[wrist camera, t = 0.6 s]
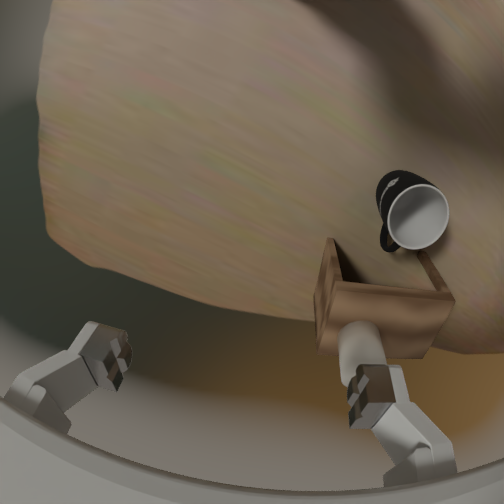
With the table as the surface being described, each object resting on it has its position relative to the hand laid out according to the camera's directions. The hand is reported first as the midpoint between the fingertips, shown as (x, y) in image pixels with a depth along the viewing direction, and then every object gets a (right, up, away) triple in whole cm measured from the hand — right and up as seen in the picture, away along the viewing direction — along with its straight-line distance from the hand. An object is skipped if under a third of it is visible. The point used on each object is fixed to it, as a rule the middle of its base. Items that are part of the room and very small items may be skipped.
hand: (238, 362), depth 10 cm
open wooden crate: (+21, 0, +40) cm, 45 cm away
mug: (+22, +12, +33) cm, 41 cm away
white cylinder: (+15, -8, +29) cm, 34 cm away
